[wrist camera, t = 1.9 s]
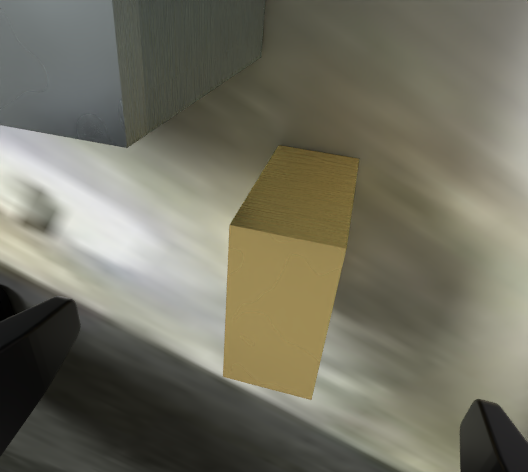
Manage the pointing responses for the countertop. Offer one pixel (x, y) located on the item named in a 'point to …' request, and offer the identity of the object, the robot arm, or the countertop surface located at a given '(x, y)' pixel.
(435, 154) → the countertop surface
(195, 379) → the countertop surface
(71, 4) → the box
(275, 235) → the block
